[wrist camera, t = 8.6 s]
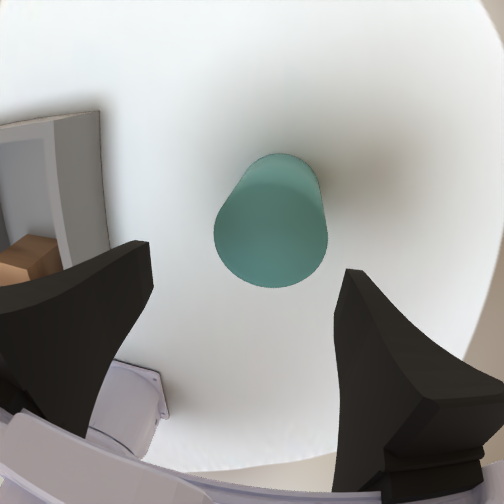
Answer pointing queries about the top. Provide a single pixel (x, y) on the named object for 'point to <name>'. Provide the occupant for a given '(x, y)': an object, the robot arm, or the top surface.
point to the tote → (54, 184)
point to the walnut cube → (29, 260)
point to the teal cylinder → (273, 223)
